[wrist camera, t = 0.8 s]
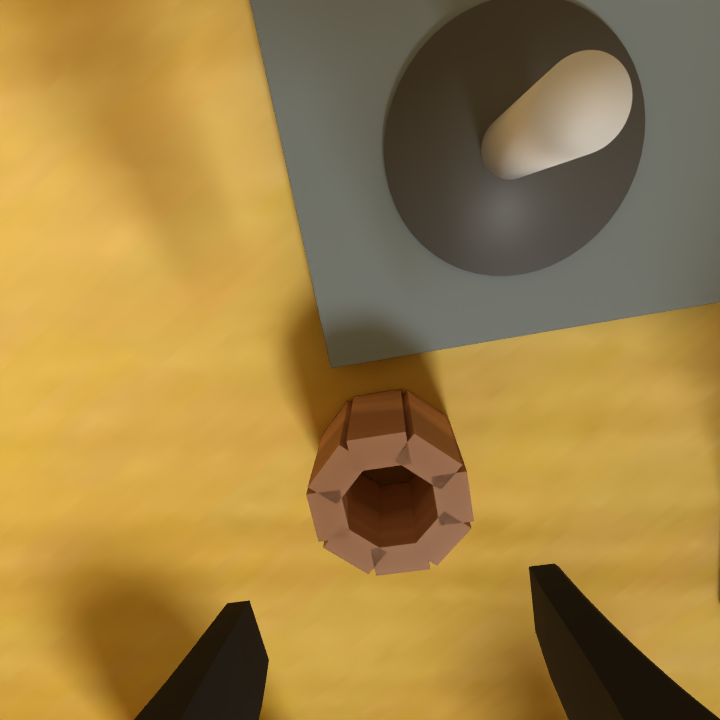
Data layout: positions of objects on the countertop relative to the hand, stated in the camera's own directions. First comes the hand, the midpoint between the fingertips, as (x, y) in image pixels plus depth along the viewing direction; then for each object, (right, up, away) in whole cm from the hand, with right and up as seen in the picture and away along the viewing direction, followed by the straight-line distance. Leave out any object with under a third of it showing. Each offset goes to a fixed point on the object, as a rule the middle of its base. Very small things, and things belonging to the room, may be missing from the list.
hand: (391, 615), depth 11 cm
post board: (+4, +14, +4) cm, 15 cm away
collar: (0, +2, +8) cm, 9 cm away
